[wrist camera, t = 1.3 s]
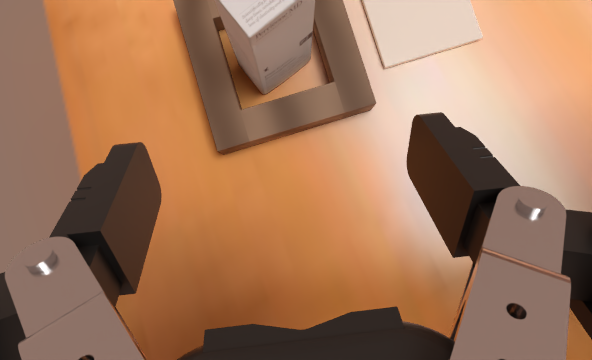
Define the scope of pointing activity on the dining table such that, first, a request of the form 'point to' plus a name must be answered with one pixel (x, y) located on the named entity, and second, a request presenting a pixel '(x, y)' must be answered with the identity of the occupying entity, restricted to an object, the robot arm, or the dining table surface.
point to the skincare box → (269, 37)
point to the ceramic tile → (419, 27)
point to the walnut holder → (287, 110)
